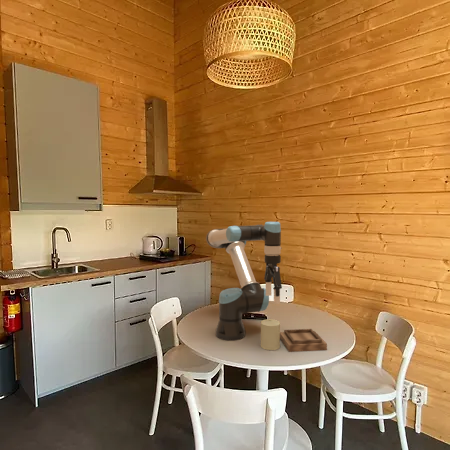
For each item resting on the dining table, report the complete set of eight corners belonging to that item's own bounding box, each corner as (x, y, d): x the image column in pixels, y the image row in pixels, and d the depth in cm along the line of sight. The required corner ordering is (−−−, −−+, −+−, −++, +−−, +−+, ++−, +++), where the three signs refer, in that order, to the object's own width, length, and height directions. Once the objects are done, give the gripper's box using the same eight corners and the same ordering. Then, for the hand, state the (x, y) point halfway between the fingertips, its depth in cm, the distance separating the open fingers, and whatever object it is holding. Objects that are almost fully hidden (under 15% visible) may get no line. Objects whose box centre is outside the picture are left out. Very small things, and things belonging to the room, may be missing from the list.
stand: (288, 351, 158) (289, 342, 158) (279, 338, 174) (279, 329, 173) (326, 349, 160) (327, 340, 160) (314, 336, 176) (314, 327, 175)
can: (278, 342, 169) (278, 318, 168) (281, 350, 160) (282, 324, 159) (259, 342, 169) (259, 318, 168) (261, 350, 159) (262, 325, 159)
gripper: (289, 258, 151) (289, 306, 152) (272, 251, 176) (272, 292, 177) (272, 258, 150) (272, 306, 151) (258, 251, 174) (258, 293, 176)
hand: (272, 299), depth 164 cm, fingers open, 13 cm apart
